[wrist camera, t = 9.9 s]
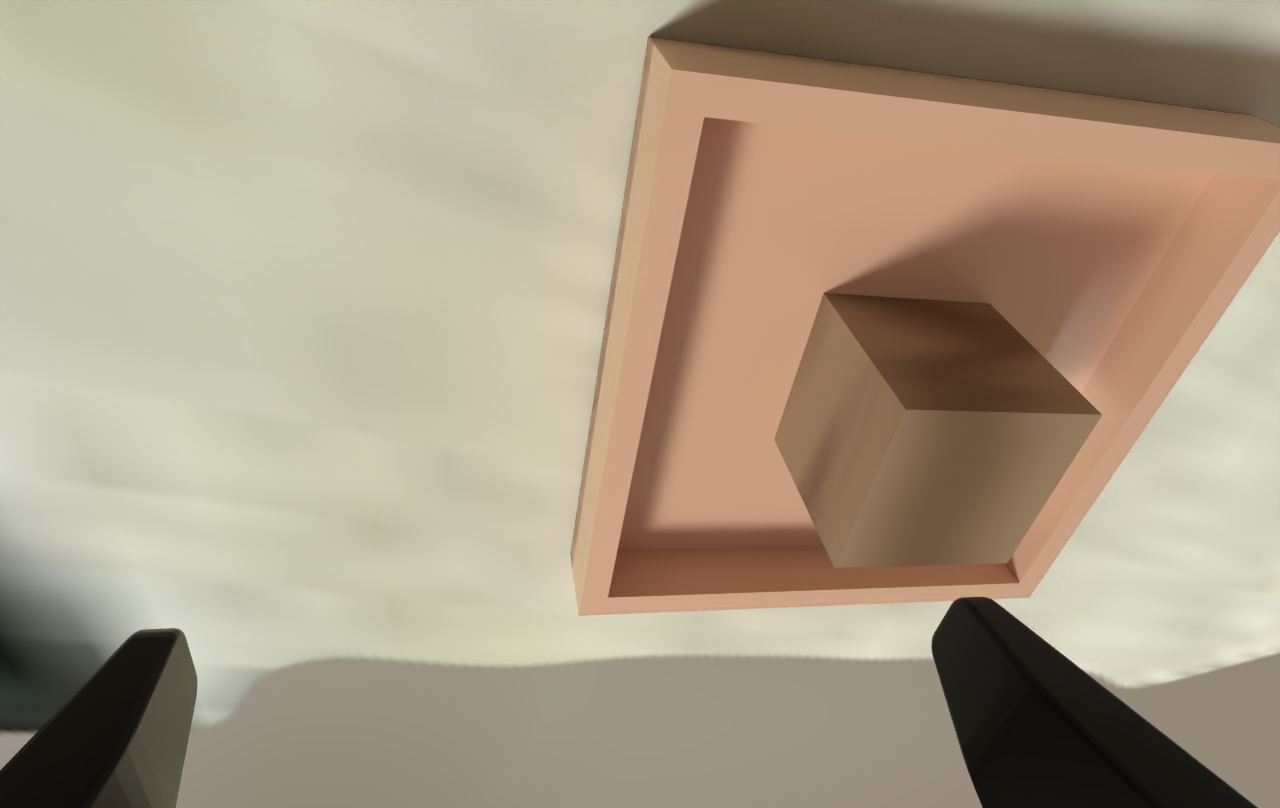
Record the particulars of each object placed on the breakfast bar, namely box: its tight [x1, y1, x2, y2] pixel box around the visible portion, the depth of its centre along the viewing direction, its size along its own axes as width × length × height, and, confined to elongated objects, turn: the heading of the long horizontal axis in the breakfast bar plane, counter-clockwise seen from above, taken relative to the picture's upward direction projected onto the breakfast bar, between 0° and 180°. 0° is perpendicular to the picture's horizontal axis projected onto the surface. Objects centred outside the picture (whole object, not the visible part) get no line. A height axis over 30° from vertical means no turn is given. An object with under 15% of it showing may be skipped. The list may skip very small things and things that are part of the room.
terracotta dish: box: [571, 37, 1280, 616], centre depth 22 cm, size 16×16×2 cm
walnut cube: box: [774, 293, 1102, 568], centre depth 21 cm, size 5×5×5 cm
